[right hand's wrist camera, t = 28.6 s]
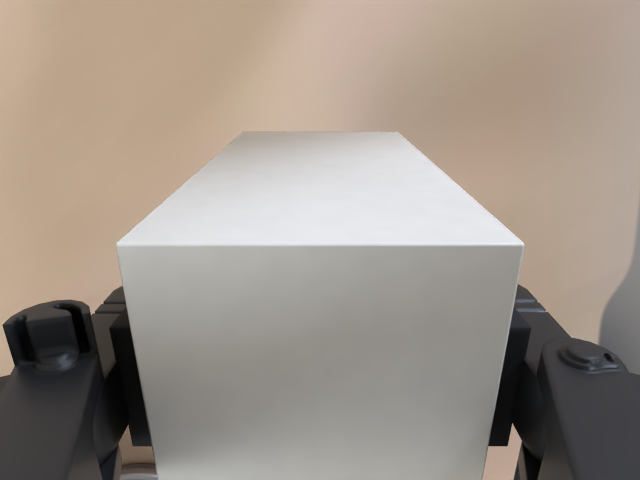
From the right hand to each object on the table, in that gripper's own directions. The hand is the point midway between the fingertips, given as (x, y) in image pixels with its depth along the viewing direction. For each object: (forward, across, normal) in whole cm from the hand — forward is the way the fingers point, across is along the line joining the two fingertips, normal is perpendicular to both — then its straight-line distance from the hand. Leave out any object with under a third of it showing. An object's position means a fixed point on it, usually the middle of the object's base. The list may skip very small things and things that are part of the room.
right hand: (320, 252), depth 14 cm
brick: (+4, 0, 0) cm, 4 cm away
